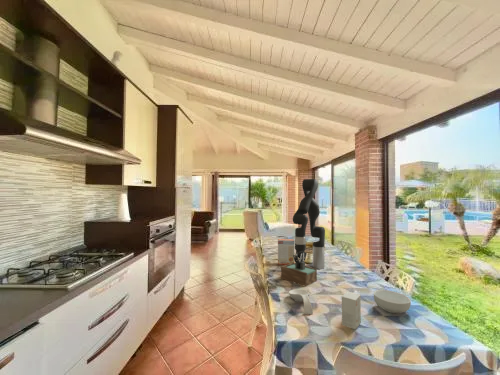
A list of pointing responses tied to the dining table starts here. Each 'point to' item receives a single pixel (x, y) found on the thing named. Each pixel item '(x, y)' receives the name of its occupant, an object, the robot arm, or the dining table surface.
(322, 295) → the dining table surface
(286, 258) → the cracker box
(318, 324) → the dining table surface
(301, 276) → the lid box
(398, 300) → the cereal bowl
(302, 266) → the cover plate
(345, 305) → the small box
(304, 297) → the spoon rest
